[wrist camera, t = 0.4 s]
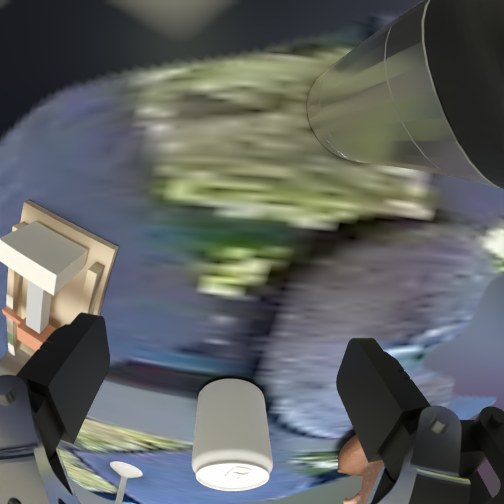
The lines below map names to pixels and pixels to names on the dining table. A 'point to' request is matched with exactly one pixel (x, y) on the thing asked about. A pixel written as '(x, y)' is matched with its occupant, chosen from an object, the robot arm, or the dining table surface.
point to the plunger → (41, 266)
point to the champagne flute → (124, 476)
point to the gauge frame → (70, 295)
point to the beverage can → (231, 436)
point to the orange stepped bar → (28, 331)
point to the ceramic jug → (358, 469)
